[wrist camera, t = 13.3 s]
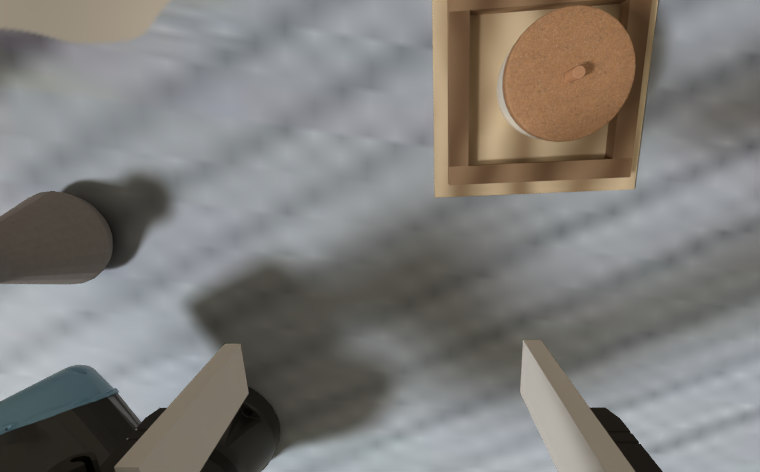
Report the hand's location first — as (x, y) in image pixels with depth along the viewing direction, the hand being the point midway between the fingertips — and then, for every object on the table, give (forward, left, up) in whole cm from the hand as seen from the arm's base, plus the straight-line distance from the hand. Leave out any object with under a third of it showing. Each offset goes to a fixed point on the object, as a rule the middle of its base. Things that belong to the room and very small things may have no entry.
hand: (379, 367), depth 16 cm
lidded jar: (+16, +15, -27) cm, 34 cm away
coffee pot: (-44, -1, -27) cm, 52 cm away
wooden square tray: (+16, +15, -27) cm, 35 cm away
